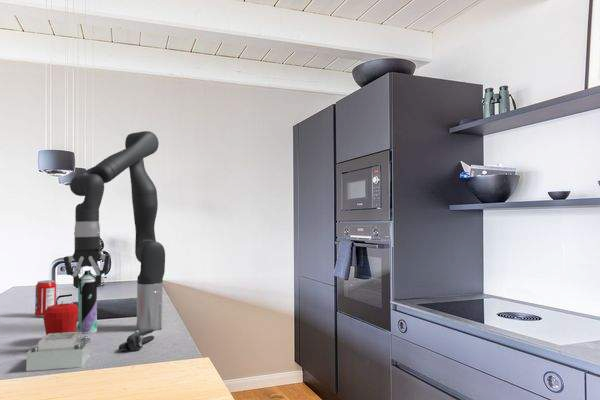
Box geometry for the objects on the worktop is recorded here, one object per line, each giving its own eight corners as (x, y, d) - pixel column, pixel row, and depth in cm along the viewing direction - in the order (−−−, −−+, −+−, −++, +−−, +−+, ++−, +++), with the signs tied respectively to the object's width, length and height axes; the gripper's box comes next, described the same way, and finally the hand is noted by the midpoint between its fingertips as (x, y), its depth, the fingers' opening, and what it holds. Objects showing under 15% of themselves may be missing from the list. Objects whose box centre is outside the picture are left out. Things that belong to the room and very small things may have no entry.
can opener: (136, 354, 138) (136, 336, 138) (115, 353, 139) (115, 335, 139) (162, 339, 156) (162, 323, 156) (143, 338, 157) (144, 322, 157)
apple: (72, 335, 160) (73, 297, 160) (82, 341, 152) (83, 301, 153) (39, 341, 152) (40, 301, 153) (48, 347, 145) (49, 305, 146)
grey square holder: (90, 354, 137) (91, 329, 137) (81, 367, 126) (82, 340, 126) (40, 358, 134) (40, 332, 134) (26, 371, 122) (26, 343, 122)
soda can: (49, 318, 188) (49, 282, 189) (30, 317, 188) (31, 282, 189) (59, 314, 196) (60, 279, 197) (41, 314, 196) (42, 279, 197)
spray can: (89, 334, 141) (89, 271, 142) (74, 334, 142) (74, 271, 143) (100, 330, 147) (100, 269, 147) (85, 329, 148) (85, 269, 148)
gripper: (112, 234, 151) (112, 284, 150) (66, 235, 147) (66, 286, 147) (109, 235, 144) (109, 287, 143) (60, 236, 140) (60, 290, 139)
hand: (87, 287), depth 145 cm, fingers closed on spray can, 5 cm apart
